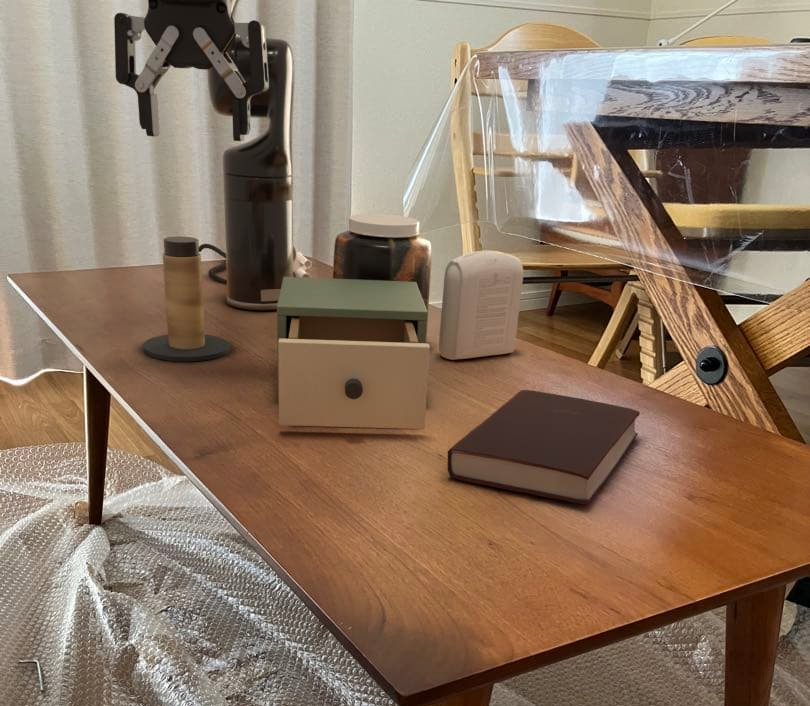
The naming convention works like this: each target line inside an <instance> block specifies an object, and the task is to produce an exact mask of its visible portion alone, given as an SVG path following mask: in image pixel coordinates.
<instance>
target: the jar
mask: <svg viewBox="0 0 810 706" xmlns="http://www.w3.org/2000/svg"><path fill="white" fill-rule="evenodd" d="M332 262H333V263H332V264H333V266H332V279H355V280H380V281H405V282H416V283H417V286H418V288H419V291H420V294H421V296H422V299H423V301H424V304H425V307H426V309H427V312H428V313H429V309H430V308H429V307H430V296H431V295H430V293H431V278H432V275H431V274H432V244H431V241H430V240H429V239H428V238H426V237H424V236H422V235H420V220H418V219H417V218H414V217H409V216H404V215H397V214H387V213H357V214H351V215H350V216H349V217H348V227H347V230H346V231H342V232H340V233H338V234H337V235H336V237H335V239H334V247H333V261H332ZM428 322H429V315H428V316H427V326H428V325H429V323H428ZM427 337H428V331H427V332H426V340H427Z"/></svg>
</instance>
